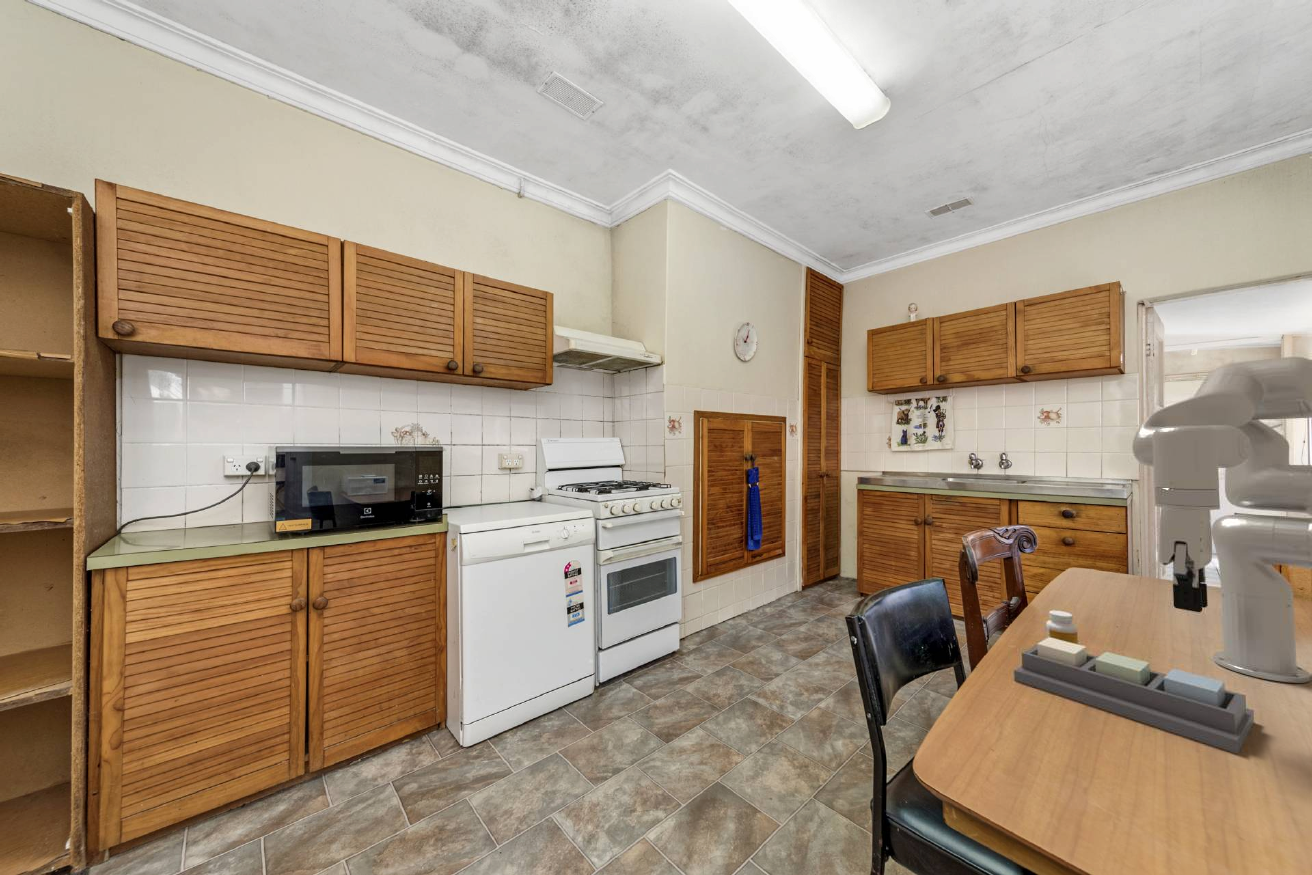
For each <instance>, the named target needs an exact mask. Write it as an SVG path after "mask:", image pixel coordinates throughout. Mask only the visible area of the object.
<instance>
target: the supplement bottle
mask: <svg viewBox="0 0 1312 875" xmlns="http://www.w3.org/2000/svg"><path fill="white" fill-rule="evenodd" d="M1048 613H1049V617H1048V618H1049V620H1048V621H1046V623H1045V639H1047V638H1048V637H1050V638H1054V639H1058V640H1062V641H1066V642H1070V643H1074V644H1078V645H1079V640H1078V628H1077V626H1076V625H1075V624H1073V622H1074V618H1073V614H1071V613H1069V612H1067V611H1062V610H1049V612H1048Z"/></svg>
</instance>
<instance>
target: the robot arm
mask: <svg viewBox="0 0 1312 875" xmlns="http://www.w3.org/2000/svg"><path fill="white" fill-rule="evenodd" d="M1286 419H1287V420H1288V419H1291V420H1292V419H1312V359H1309V358H1306V357H1301V356H1288V357H1286V356H1285V357H1278V358H1268V359H1255V360H1248V361H1247V360H1246V361H1240V362H1238V361H1237V362H1232V363H1227V364H1223V365H1221V366H1218V367H1216V368H1214V369H1213V370H1212V371H1210V372H1209V373H1208V374H1207V375H1206V377H1205V378H1204V380H1203V382H1201V384H1200V386H1199V388H1198V389H1197V391H1196V393H1195V394H1194V395H1193V396H1191V397H1189V398H1188V397H1187V398H1186V399H1182V400H1181V401H1178V402H1175V403H1174V404H1170V405H1168V406H1165V407H1163V408H1160V409H1158V410H1156V411H1155V412H1152V413H1150V415H1148V416H1147V417H1146V418H1145V419H1144V420H1143V422H1142V423H1141V424H1140V426H1139V428H1138V429H1137V431H1136V432H1135V435H1134V437H1133V440H1132V447H1131V448H1132V453H1133V456H1134V457H1135V459H1136V460H1137V461H1138V462H1139V463H1140V464H1141V465H1142V464H1143V465H1144V466H1147V467H1153V485H1154V486H1153V487H1154V506H1155V507H1159V508H1161V509H1160V516H1159V542H1158V543H1159V545H1158V546H1159V550H1158V551H1159V552H1158V553H1159V554H1158V560H1159V562H1158V563H1160V564H1161V565H1162V566H1168V565H1170V564H1171V563H1172V577H1173V578H1172V581H1173V583H1172V594H1173V596H1172V597H1173V608H1175V609H1178V610H1183V611H1189V612H1194V613H1201V612H1202V611H1203V608H1204V609H1205V608H1207V607H1208V586H1207V585H1208V583H1206V582H1207V580H1206V566H1208V565H1209V564H1211V562H1212V558H1213V545H1214V549H1215V553H1216V555H1217V562H1218V568H1219V569H1218V570H1219V578H1220V597H1221V598H1220V600H1221V601H1220V602H1221V621H1222V622H1221V623H1222V625H1221V626H1222V642H1223V646H1222V647H1223V650H1222V651H1216V652H1214V653H1212V660H1213V661H1214V663H1216V664H1217V665H1219V666H1221V667H1224V668H1226V669H1228V670H1231V671H1233V672H1237V673H1240V674H1243V675H1246V676H1250V677H1254V678H1259V679H1264V680H1268V681H1273V682H1282V683H1292V684H1294V683H1295V684H1303V683H1307V682H1309V681H1311V675H1310V673H1309V672H1308V670H1306V669H1304V668H1302V667H1300V666H1298V664H1297V648H1296V627H1295V625H1296V624H1295V623H1296V622H1295V607H1294V606H1295V603H1294V591H1293V587H1292V585H1291V583H1290V581H1288V580H1287V578H1286V577H1285V576H1284V575H1283V574H1282V573H1280V571H1279V570H1277V568H1275V567H1274V566H1273V565H1277V566H1288V567H1296V568H1302V569H1303V568H1305V569H1311V570H1312V518H1299V517H1297V518H1296V517H1285V516H1284V517H1283V516H1275V515H1274V516H1273V515H1261V514H1258V515H1257V514H1245V513H1242V514H1239V513H1238V514H1228V515H1227V514H1226V515H1224V516H1221V517H1219V518H1217V519H1215V521H1214V522H1213V524H1212V517H1211V511H1214V510H1220V509H1221V506H1220V505H1221V502H1220V482H1219V481H1220V480H1219V479H1220V478H1219V476H1220V475H1219V469H1225V470H1224V471H1225V472H1224V473H1225V474H1224V492H1225V493H1224V494H1225V497H1226V500H1227V502H1229V503H1230V504H1231V505H1232V506H1235V507H1238V508H1242V509H1249V510H1256V511H1271V512H1272V511H1273V512H1286V513H1287V512H1289V513H1303V514H1308V515H1310V516H1312V465H1311V464H1310V465H1308V464H1290V443H1289V442H1288V440H1287V438H1286V437H1284V436H1283V434H1281V433H1280V432H1278V431H1277V430H1275V429H1274V428H1272V427H1271V426H1269V425H1268V424H1266V423H1264V422H1262V421H1261V420H1286Z"/></svg>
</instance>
